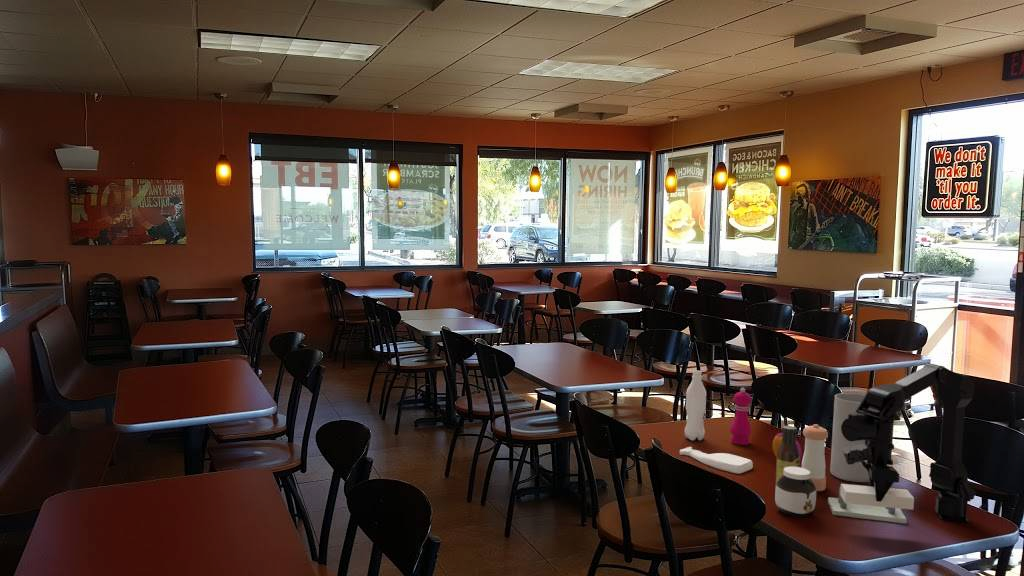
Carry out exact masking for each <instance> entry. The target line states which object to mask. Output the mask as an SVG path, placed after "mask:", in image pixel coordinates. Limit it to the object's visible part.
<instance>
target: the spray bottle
mask: <svg viewBox="0 0 1024 576" xmlns="http://www.w3.org/2000/svg"><path fill="white" fill-rule="evenodd" d="M679 455H681V456H683V455H684V456H689V457H692V458H693V459H695V460H696V461H698V462H699V463H700V462H701V463H702V464H705V465H707V466H709V467H712V468H715V469H717V470H718V469H719V470H722V471H725V472H729V473H733V474H739V475H740V474H743V473H745V472H747V471H750V470H752V469H753V468H754V463H753V461H752V460H751V459H749V458H745V457H743V456H739V455H735V454H731V453H724V452H718V453H717V452H715V453H706V452H702V451H701V450H697V449H693V447H692V446H687V447H685V448H681V449H679Z"/></svg>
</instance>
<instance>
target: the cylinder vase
mask: <svg viewBox="0 0 1024 576" xmlns="http://www.w3.org/2000/svg"><path fill="white" fill-rule="evenodd" d="M865 396H866V394H860V393H852V392H851V393H850V392H849V393H848V392H847V393H845V392H842V393H837V394H835V395H834V401H833V421H832V438H831V449H830V450H831V453H830V456H831V457H830V467H829V471H830V474H831V475H832V476H833V477H836V478H837V479H840V480H842V481H846V482H850V481H851V482H850V483H870V481H869V475H868V470H867V469H866V468H865V467H864V466H863V465H862V463H861V462H857V463H854V464H851V465H849V464H847V462H846V460H845V457H844V454H843V451H842V449H843V448H845V447H850V446H854V445H860V444H864V441H865V440H860V441H848V440H847V439H845V437H844V436H843V434H842V431H841V425H842V423H843V421H844V420H845V419H847V418H848V415H849V414H851V413H853V414H859V413H856V410H857V408H858V407H859V405H860V404H861V402H862V401H863V399H864V397H865ZM869 409H870V410H873V409H871V408H869ZM873 411H876V412H879V411H877V410H873ZM864 462H865V461H864Z"/></svg>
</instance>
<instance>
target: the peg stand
mask: <svg viewBox="0 0 1024 576" xmlns="http://www.w3.org/2000/svg"><path fill="white" fill-rule="evenodd" d="M840 489H841V487H839V488H838V497H828V498H827V504H828V505H830V506H829V508H830V511H831V513H832V515H833V516H840V517H848V518H849V517H850V518H856V519H865V520H873V521H880V522H881V521H883V522H891V523H897V524H898V523H899V524H907V518H906V516H905V514H904V513H903V511H902V509H900V508H890V507H879V506H869V505H858V504H848V503H845V502H844V500H843V499H842V497H841V495H840Z"/></svg>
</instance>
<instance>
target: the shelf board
mask: <svg viewBox="0 0 1024 576" xmlns="http://www.w3.org/2000/svg"><path fill="white" fill-rule="evenodd" d="M840 488H841V489H840V495H841V497H842V499H843V500H844V502H845V503H848V504H858V505H869V506H879V507H890V508H900V509H901V510H913V511H914V504H915V498H914V496H913V494H911V493H910V491H909V490H908V489H903V488H892V487H890V489H889V490H888V492H887V493H886V495H885V496H884V498H883V499H882V501H881V502H879V501H876V495H875V487H871V486H869V485H859V484H849V483H848V484H847V483H840Z"/></svg>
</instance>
